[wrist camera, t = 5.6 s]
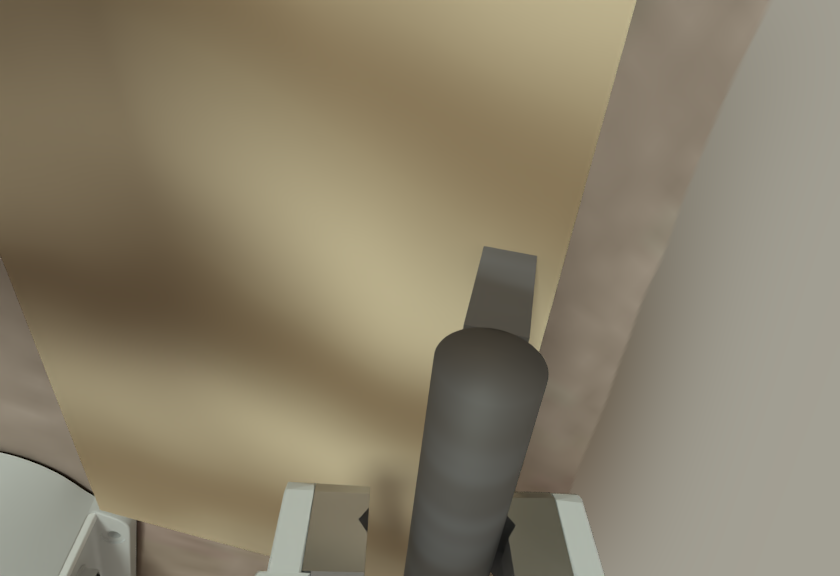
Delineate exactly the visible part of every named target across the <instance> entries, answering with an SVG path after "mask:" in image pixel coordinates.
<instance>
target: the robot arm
mask: <svg viewBox="0 0 840 576" xmlns="http://www.w3.org/2000/svg"><path fill="white" fill-rule="evenodd" d="M369 501H370V486H354V485H337V484H320V483H304V482H288V483H287V486H286V488H285V490H284V495H283V499H282V504H281V509H280V513H279V518H278V523H277V527H276V532H275V537H274V541H273V546H272V551H271V555H270V560H269V565H268V569H267V571H258V572H257V573H256V575H255V576H365V563H366V548H367V532H368V517H369ZM136 526H137V520H135V519H131V518H128V517H124V516H120V515H117V514H113V513H109V512H106V511H102V510H100V509H99V506H98V503H97V501H96V498H95V496H93V495H92V494H90V493H88V492H86V491H85V490H83V489H82V488H80V487H79V486H77V485H76V484H74V483H73V482H71V481H70V480H68V479H67V478H65V477H63V476H61V475H60V474H58V473H56V472H54V471H52V470H50V469H48V468H46V467H43V466H41V465H39V464H36V463H33V462H31V461H28V460H25V459H22V458H19V457H16V456H12V455H9V454H5V453H0V576H136ZM490 572H491V573H492V574H493V576H605V574H604V571H603V567H602V564H601V561H600V558H599V554H598V551H597V547H596V544H595V541H594V537H593V534H592V530H591V527H590V524H589V521H588V517H587V514H586V511H585V507H584V504H583V501H582V499H581V498H580V497H579V495H577V494H554V493H549V492H515V491H514V495H513V498H512V501H511V505H510V508H509V511H508V515H507V518H506V521H505V525H504V528H503V531H502V535H501V538H500V541H499V545H498V548H497V551H496V555H495V558H494V561H493V565H492V568H491V571H490Z"/></svg>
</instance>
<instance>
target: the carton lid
mask: <svg viewBox="0 0 840 576" xmlns="http://www.w3.org/2000/svg"><path fill="white" fill-rule="evenodd" d="M635 4H636V0H0V255H1V258H2V260H3V263H4V265H5V268H6V270H7V273H8V276H9V278H10V281H11V283H12V286H13V288H14V291H15V294H16V296H17V299H18V301H19V304H20V306H21V309H22V311H23V314H24V317H25V319H26V322H27V324H28V327H29V329H30V332H31V334H32V337H33V340H34V342H35V345H36V347H37V350H38V352H39V355H40V358H41V360H42V363H43V365H44V368H45V370H46V373H47V375H48V378H49V381H50V383H51V386H52V388H53V391H54V393H55V396H56V398H57V401H58V404H59V406H60V409H61V411H62V414H63V416H64V419H65V422H66V424H67V427H68V429H69V432H70V434H71V437H72V439H73V442H74V445H75V447H76V450H77V452H78V455H79V457H80V460H81V462H82V465H83V468H84V470H85V473H86V475H87V478H88V480H89V483H90V486H91V488H92V491H93V493H94V496H95V498H96V501H97V503H98V506H99V509H100V510H102V511H106V512H109V513H113V514H117V515H120V516H124V517H128V518H131V519H135V520H138V521H142V522H146V523H149V524H153V525H157V526H160V527H164V528H168V529H171V530H175V531H179V532H182V533H186V534H190V535H193V536H197V537H201V538H204V539H208V540H212V541H215V542H219V543H223V544H226V545H230V546H234V547H237V548H241V549H244V550H248V551H252V552H255V553H259V554H263V555H266V556H270V555H271V551H272V546H273V541H274V537H275V532H276V527H277V523H278V518H279V513H280V509H281V504H282V499H283V495H284V490H285V488H286V486H287V483H288V482H304V483H320V484H337V485H354V486H370V501H369V517H368V532H367V548H366V563H365V576H489V575H490V571H491V568H492V565H493V561H494V558H495V555H496V551H497V548H498V545H499V541H500V538H501V535H502V531H503V528H504V525H505V521H506V518H507V515H508V511H509V508H510V505H511V501H512V498H513V495H514V491H515V488H516V485H517V481H518V478H519V475H520V471H521V468H522V465H523V461H524V458H525V455H526V451H527V448H528V445H529V441H530V438H531V435H532V431H533V428H534V425H535V421H536V418H537V415H538V412H539V408H540V405H541V402H542V398H543V395H544V392H545V388H546V385H547V382H548V368H547V365H546V362H545V360H544V358H543V357H542V355H541V354H540V353H539V350H540V346H541V343H542V339H543V336H544V332H545V328H546V325H547V321H548V318H549V314H550V310H551V307H552V303H553V300H554V296H555V292H556V289H557V285H558V282H559V278H560V274H561V271H562V267H563V264H564V260H565V256H566V253H567V249H568V245H569V242H570V238H571V235H572V231H573V227H574V224H575V220H576V217H577V213H578V209H579V206H580V202H581V199H582V195H583V191H584V188H585V184H586V181H587V177H588V173H589V170H590V166H591V163H592V159H593V155H594V152H595V148H596V144H597V141H598V137H599V134H600V130H601V126H602V123H603V119H604V116H605V112H606V108H607V105H608V101H609V98H610V94H611V90H612V87H613V83H614V80H615V76H616V72H617V69H618V65H619V61H620V58H621V54H622V51H623V47H624V43H625V40H626V36H627V33H628V29H629V25H630V22H631V18H632V15H633V11H634V7H635Z"/></svg>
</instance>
